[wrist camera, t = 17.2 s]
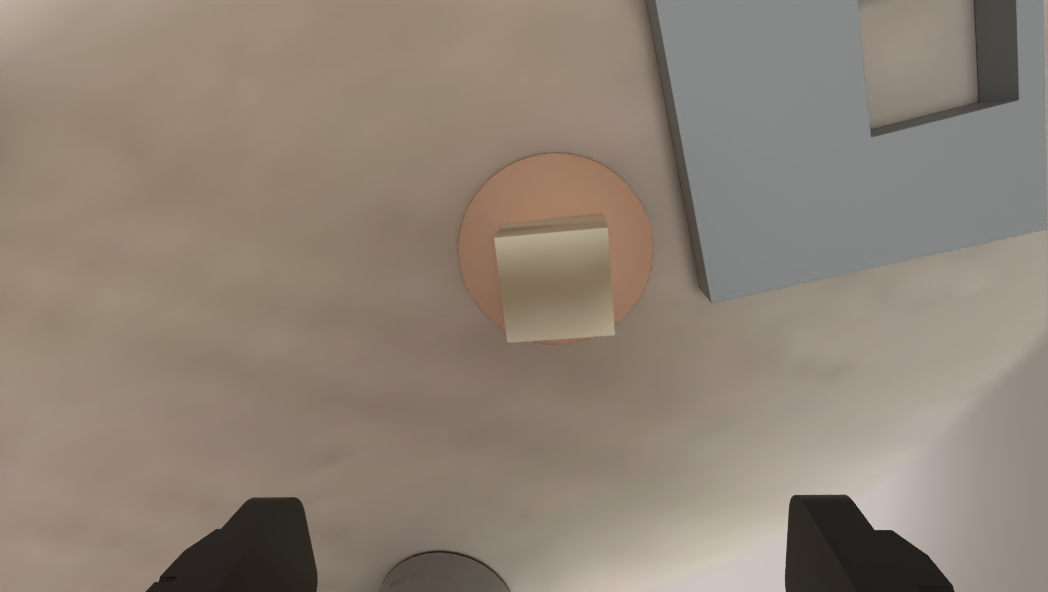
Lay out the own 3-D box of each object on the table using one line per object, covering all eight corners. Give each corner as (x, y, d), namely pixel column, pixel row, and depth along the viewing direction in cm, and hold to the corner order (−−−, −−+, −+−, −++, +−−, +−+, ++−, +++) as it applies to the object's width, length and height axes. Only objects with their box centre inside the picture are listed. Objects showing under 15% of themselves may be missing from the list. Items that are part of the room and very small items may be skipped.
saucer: (666, 314, 31) (670, 321, 30) (491, 353, 32) (488, 361, 31) (628, 129, 28) (630, 130, 27) (439, 180, 30) (434, 183, 29)
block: (609, 307, 30) (615, 335, 26) (515, 315, 30) (507, 342, 27) (603, 213, 28) (607, 227, 25) (504, 222, 29) (493, 237, 25)
